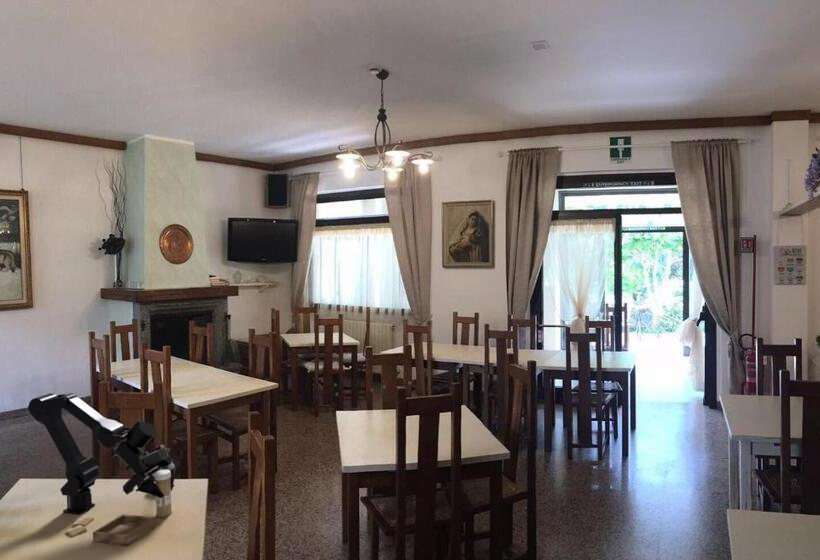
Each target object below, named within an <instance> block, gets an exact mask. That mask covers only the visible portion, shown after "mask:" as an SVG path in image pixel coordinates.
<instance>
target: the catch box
mask: <svg viewBox="0 0 820 560" xmlns="http://www.w3.org/2000/svg"><path fill="white" fill-rule="evenodd" d="M156 526H157V518H156V517H153V516H152V517H151V516H144V515H135V514H127V513H122V514H120V515H119V516H117V517H116V518H114V519H112V520H110V521H109V522H108V523H105V524H104V525H102V526H101V527H100V528H98V529H96V530H94V531H92V542H97V543H105V544H112V545H118V546H125V547H127V546H130V545H131V544H132V543H134V542H136V541H137V540H138V539H141V537H142V536H144V535H145V534H146V533H148V532H150V531H151V530H153V528H155V527H156Z"/></svg>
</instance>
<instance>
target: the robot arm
mask: <svg viewBox="0 0 820 560" xmlns="http://www.w3.org/2000/svg"><path fill="white" fill-rule="evenodd" d="M27 409H28V410H27V411H28V412H29V414H30V415H31V416H32V417H33V419H34V420H35V421H37V422H38V423H40V424H42V425H43V426H44V427H45V428H46V431H47V432H48V434H49V436H50V438H51V439H52V441H53V444H54V445H55V447H56V449H57V450H58V453H59V454H60V456H61V458H62V459H63V461H64V463H65V466H66V467H65V477H66V480H67V482H65V484H63V486H62V487H61V488H60V493H61V495H62V496H66V508H65V509H63V511H62V512H63V513H66V514H67V513H68V514H75V515H80V514H82V513H84V512H86V511H88V510H89V509H91V508H93V507H95V506H96V503H93V502H92V501H93V499H92V493H91V490H92V489H91V488H90V487H92V486H94V485H95V483H96V480H97V479H98V477H99V474H100V471H99V465H97V464H96V462H95V459H94V458H93V457H91V456H90V457H89V458H87V457H85V456H84V455H83V454H82V452H81V450H80V449H79V447H78V445H77V443H76V441H75V439H74V438H73V435H72V434H71V432H70V430H69V428H68V427H67V424H66V423H65V421H64V418H63V416H62V415H63V410H64V411H66V412H68V413H69V414H70V415H71V416H73V417H74V418H75V419H77V420H78V421H80V422H81V423H82V424H83V425H85V426H86V427H87V428H88V429H90V430H91V431H92V433H93V436H94V439H96V440H97V442H98V443H99V444H100V445H101V446H103V447H105V448H109V447H111V448H110V454H109V457H110V458H111V459H113V458H114V457H116V456H118V457H119V458H120V459H121V461H122V462H123V463H124V464H125V465H126V467H125V470H126V471H129V470H131V472H132V473H133V474H134V475H132V476H131V477H130V478H129V479H128V480H127V481H126V482H125V483H124V484H123V486H122V491H123V492H124V493H125V494H126V496H128V495H129V494H131V493H132V492H133V491H135V492H136V493H137V492H141V493H144V494H148V495H151V496H154V497H156V496H157V497H160V498H162V497H163V496H164V494H163V493H162V491H161V490H160V489H159V488H158V486H157V485H156V483H155V473H156V472H157V471H160V470H167V468H168V467H169V464H170V463H171V462H172V463H173V462H174V458H173V457H172V456H171V455H169V454H168V455H167V454H166V453H167V452H168V449H169V448H167V447H166V446H165V445H164V444H160V445H157V447H155V451H153V452H151V453H150V452H149V451H147V450H145V451H143V450H142V449H141V448H144V447H145V446H146V445H147V444H148V443H149V442H150V441H151V440H152V439H153V438H154V437H155V436H156V435H157V429H156V427H155V426H154V425H153V424H151V423H150V422H145V421H143V420H142V419H140V420H138V421H137V420H136V422H135V423H134V424H133V426H132V427H129V426H125V425H124V424H123V423H120V422H118V421H117V420H115V419H110V418H107V417H104V416H103V415H101V414H100V413H99V412H98V411H96V410H95V409H94V408H92V407H91V406H90V405H88V404H87V403H86V402H85V401H83V400H82V399H81V398H79V396H78V395H77V394H76V393H72V392H70V393H66V394H65V393H61V394H56V393H52V392H51V393H47V394H43V395H40V396H38V397H35V398H32V399H31V400H30V401H29V403H28V406H27ZM118 443H119V444H118ZM117 444H118V445H117ZM114 445H117V446H114ZM112 446H113V447H112ZM168 453H169V452H168ZM136 487H137V489H135V488H136ZM170 488H171V492H172V490H173V488H174V487H172V485H171V483H170ZM173 491H174V490H173Z"/></svg>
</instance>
